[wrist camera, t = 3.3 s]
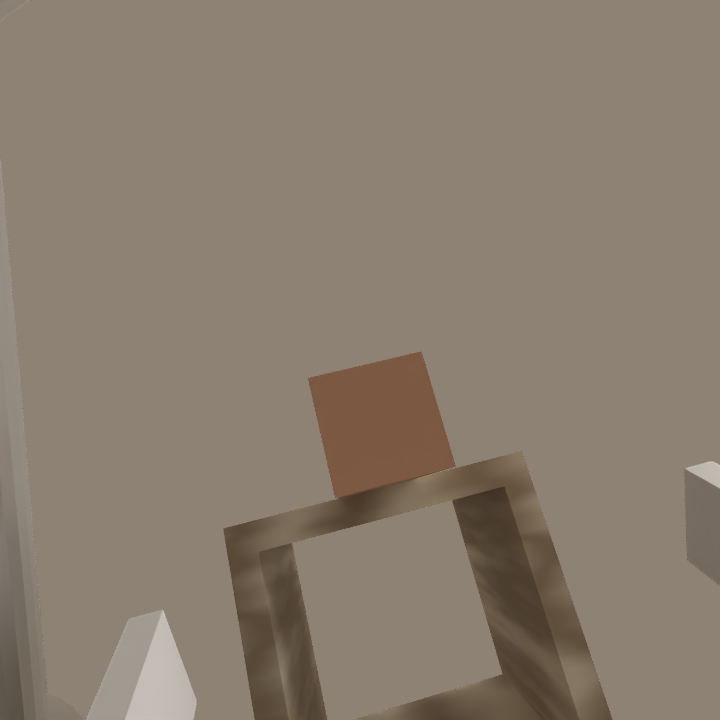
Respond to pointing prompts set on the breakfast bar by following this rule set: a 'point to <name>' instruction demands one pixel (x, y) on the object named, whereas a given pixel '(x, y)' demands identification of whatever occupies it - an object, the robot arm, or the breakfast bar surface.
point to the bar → (380, 424)
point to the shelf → (495, 585)
